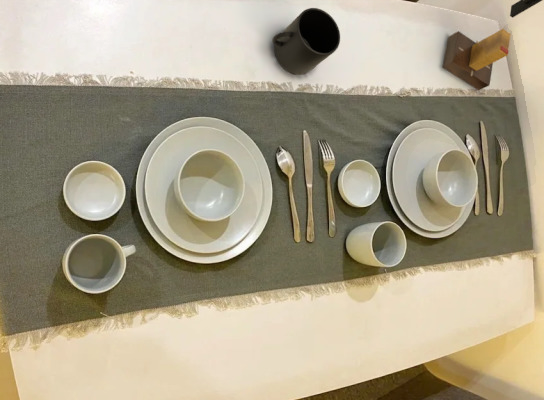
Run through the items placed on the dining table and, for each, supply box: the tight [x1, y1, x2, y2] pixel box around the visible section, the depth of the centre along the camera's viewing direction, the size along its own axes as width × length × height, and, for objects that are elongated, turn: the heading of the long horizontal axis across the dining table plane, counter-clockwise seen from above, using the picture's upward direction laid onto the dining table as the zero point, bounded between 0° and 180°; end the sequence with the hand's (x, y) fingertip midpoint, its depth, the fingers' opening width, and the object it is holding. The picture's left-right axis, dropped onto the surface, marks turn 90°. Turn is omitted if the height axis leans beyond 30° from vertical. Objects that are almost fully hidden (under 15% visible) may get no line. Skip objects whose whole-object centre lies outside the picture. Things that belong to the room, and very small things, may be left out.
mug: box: [271, 7, 341, 76], centre depth 91 cm, size 9×12×9 cm
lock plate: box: [442, 30, 494, 91], centre depth 114 cm, size 12×10×3 cm
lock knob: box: [469, 28, 511, 71], centre depth 109 cm, size 6×2×8 cm, turn 159°
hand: (534, 27), depth 99 cm, fingers open, 13 cm apart
